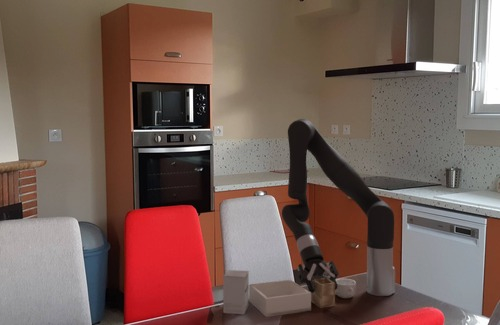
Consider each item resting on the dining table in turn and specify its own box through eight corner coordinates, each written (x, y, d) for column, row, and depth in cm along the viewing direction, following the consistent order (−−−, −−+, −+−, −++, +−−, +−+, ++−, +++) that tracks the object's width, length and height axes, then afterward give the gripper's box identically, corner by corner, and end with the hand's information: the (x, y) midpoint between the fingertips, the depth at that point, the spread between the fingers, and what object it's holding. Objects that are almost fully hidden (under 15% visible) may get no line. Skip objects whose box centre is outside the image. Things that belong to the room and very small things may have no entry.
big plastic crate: (290, 295, 182) (290, 279, 182) (310, 310, 167) (311, 293, 167) (249, 301, 177) (249, 284, 176) (266, 317, 162) (266, 298, 161)
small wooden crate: (325, 299, 178) (325, 277, 177) (334, 305, 172) (335, 282, 171) (311, 301, 176) (311, 279, 176) (320, 308, 170) (320, 284, 169)
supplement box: (244, 314, 164) (244, 276, 163) (222, 313, 165) (222, 275, 165) (249, 307, 171) (249, 270, 170) (228, 305, 173) (227, 269, 172)
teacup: (330, 294, 184) (330, 279, 184) (349, 292, 186) (349, 277, 186) (343, 303, 175) (343, 287, 174) (362, 300, 177) (363, 285, 176)
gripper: (294, 246, 177) (309, 287, 167) (330, 242, 182) (346, 282, 172) (288, 257, 183) (302, 298, 173) (323, 253, 188) (338, 293, 178)
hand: (324, 290), depth 173 cm, fingers open, 8 cm apart
